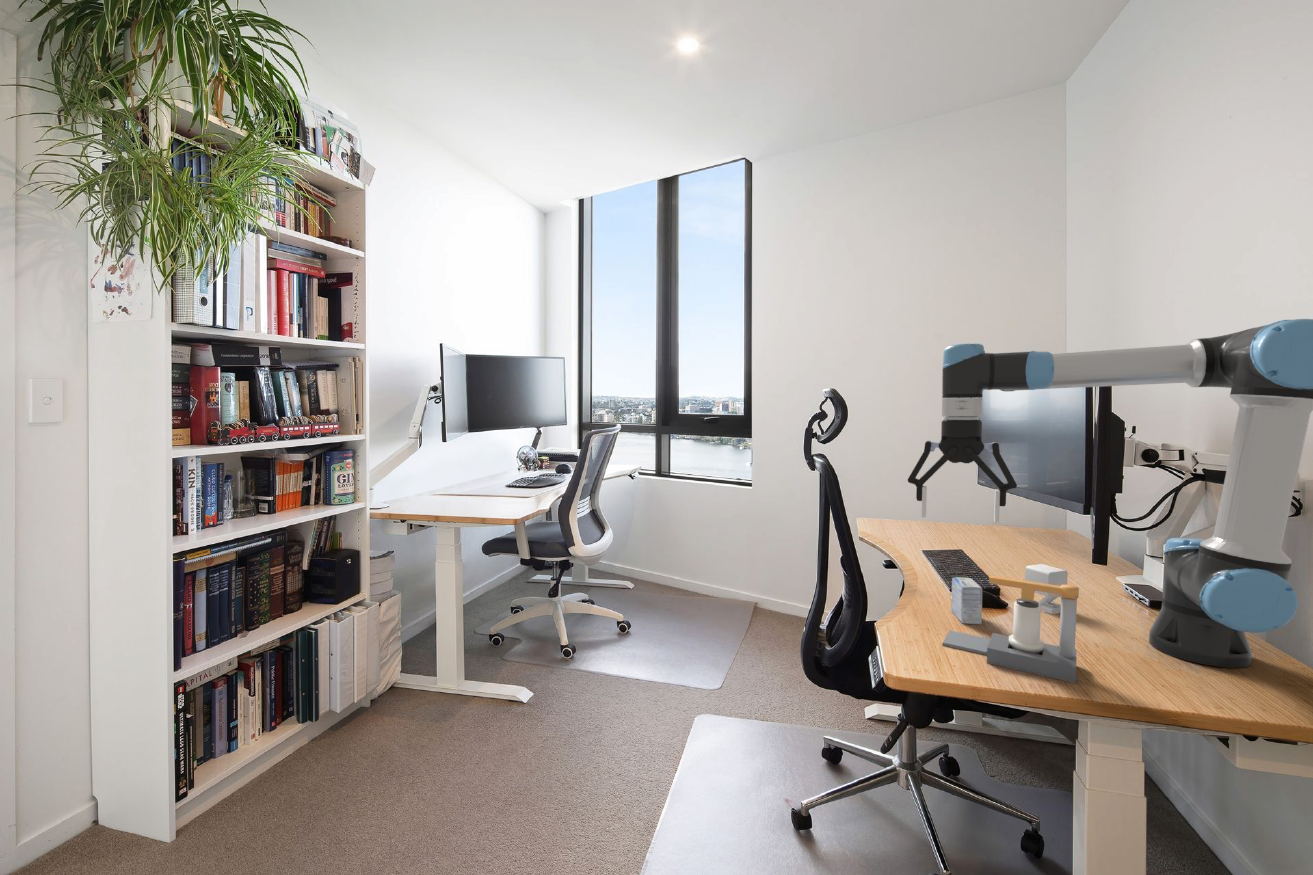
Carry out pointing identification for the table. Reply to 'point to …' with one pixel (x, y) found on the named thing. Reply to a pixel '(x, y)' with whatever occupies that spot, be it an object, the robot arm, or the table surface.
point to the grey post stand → (1050, 660)
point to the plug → (1026, 627)
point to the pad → (966, 642)
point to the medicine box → (966, 600)
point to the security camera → (1047, 576)
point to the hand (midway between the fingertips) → (959, 519)
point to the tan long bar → (1036, 587)
